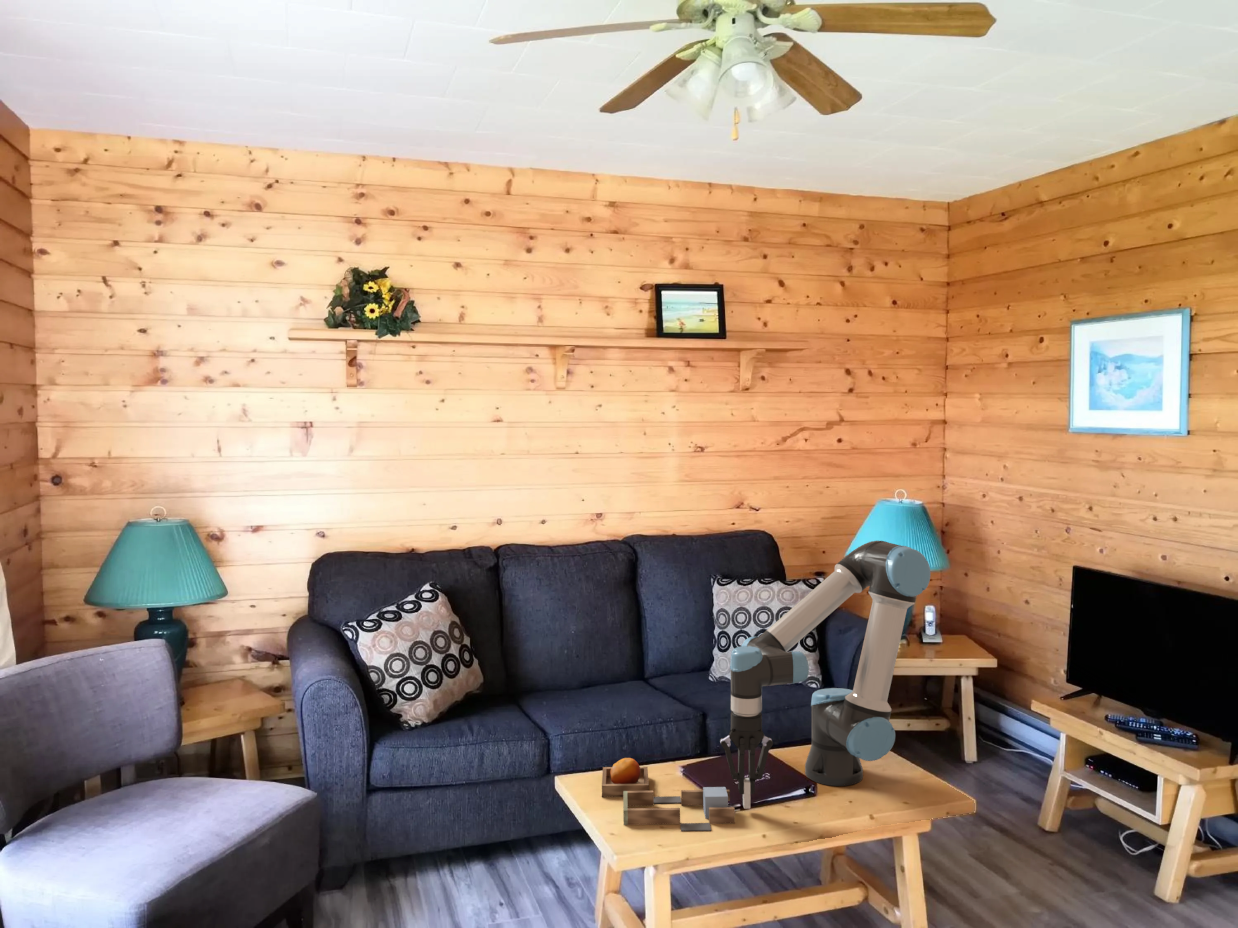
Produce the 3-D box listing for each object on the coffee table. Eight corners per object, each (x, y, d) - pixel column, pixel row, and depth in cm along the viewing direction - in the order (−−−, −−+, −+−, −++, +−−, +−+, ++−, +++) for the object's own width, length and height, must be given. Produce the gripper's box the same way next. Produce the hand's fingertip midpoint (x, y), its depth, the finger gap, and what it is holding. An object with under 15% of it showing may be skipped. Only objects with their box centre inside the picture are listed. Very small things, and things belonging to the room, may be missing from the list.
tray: (647, 777, 244) (647, 766, 244) (648, 796, 232) (648, 784, 232) (603, 777, 244) (602, 766, 244) (602, 796, 232) (601, 785, 232)
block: (725, 808, 225) (725, 786, 225) (728, 818, 219) (727, 796, 219) (703, 808, 225) (703, 787, 225) (705, 818, 219) (705, 796, 219)
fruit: (645, 786, 233) (628, 759, 233) (619, 800, 235) (603, 773, 235) (649, 774, 241) (634, 748, 241) (624, 787, 242) (609, 761, 243)
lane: (727, 796, 231) (727, 783, 231) (736, 830, 213) (736, 815, 213) (623, 797, 232) (623, 784, 231) (623, 831, 213) (623, 817, 213)
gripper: (770, 705, 224) (770, 799, 226) (717, 706, 224) (718, 799, 226) (775, 716, 217) (775, 812, 218) (721, 716, 217) (721, 813, 218)
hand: (746, 805), depth 222 cm, fingers closed
